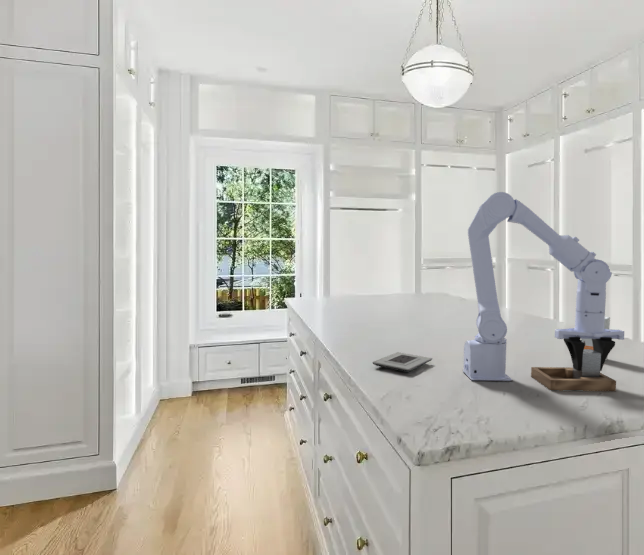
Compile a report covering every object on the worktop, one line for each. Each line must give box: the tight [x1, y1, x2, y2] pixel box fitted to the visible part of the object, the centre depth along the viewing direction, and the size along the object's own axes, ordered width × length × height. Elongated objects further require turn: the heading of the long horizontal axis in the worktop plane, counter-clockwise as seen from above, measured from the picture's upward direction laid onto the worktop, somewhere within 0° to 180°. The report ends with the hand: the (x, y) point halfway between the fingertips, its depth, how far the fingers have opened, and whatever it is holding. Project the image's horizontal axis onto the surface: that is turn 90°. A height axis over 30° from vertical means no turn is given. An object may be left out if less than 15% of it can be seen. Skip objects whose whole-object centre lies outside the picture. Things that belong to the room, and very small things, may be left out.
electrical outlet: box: [372, 351, 433, 373], centre depth 116 cm, size 13×10×2 cm
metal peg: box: [572, 349, 601, 379], centre depth 101 cm, size 4×4×7 cm
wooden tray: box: [530, 366, 617, 392], centre depth 101 cm, size 14×10×2 cm
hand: (587, 369), depth 101 cm, fingers closed on metal peg, 4 cm apart
